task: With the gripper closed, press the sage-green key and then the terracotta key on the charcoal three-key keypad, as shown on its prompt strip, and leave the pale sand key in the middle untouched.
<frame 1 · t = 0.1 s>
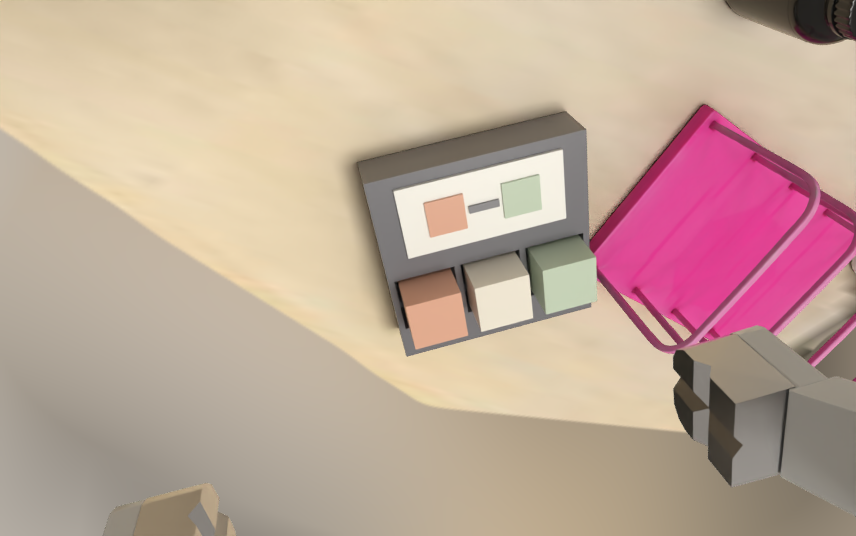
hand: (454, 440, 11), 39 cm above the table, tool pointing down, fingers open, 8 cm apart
file sorter: (718, 240, 62), on the table
keypad base: (476, 228, 55), on the table
key terracotta: (432, 306, 52), point 5 cm above the table, slide at 0.0 cm
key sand: (497, 289, 52), point 5 cm above the table, slide at 0.0 cm
key sage: (561, 272, 53), point 5 cm above the table, slide at 0.0 cm
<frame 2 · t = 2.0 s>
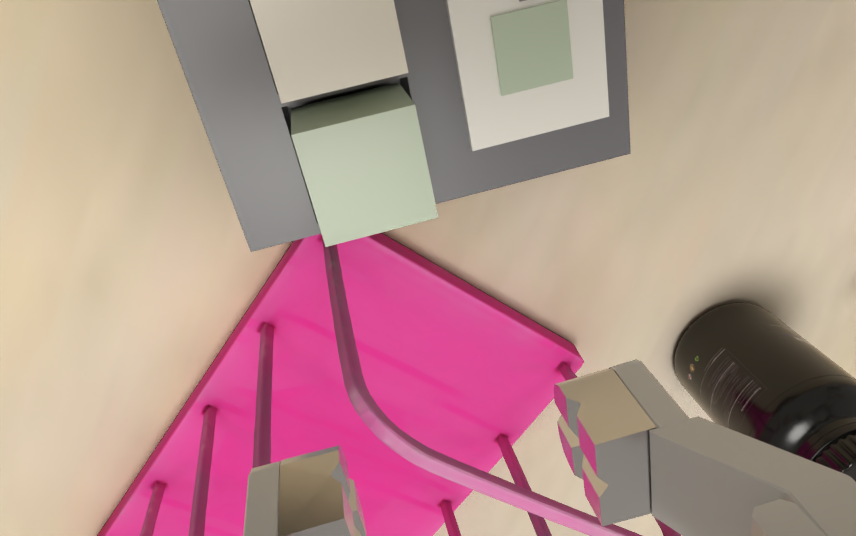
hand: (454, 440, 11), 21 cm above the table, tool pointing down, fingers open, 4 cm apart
file sorter: (335, 437, 38), on the table
supplement bottle: (718, 343, 40), on the table
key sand: (325, 13, 22), point 5 cm above the table, slide at 0.0 cm
key sage: (363, 161, 25), point 5 cm above the table, slide at 0.0 cm
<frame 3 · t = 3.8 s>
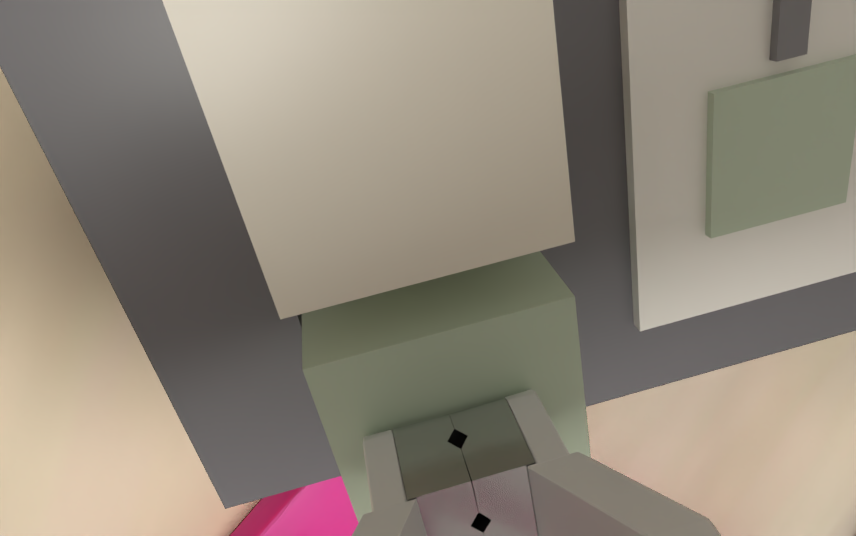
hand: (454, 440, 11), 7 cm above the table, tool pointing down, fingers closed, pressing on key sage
keypad base: (480, 17, 15), on the table
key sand: (379, 99, 10), point 5 cm above the table, slide at 0.0 cm
key sage: (441, 367, 13), point 5 cm above the table, slide at 0.3 cm, touching gripper
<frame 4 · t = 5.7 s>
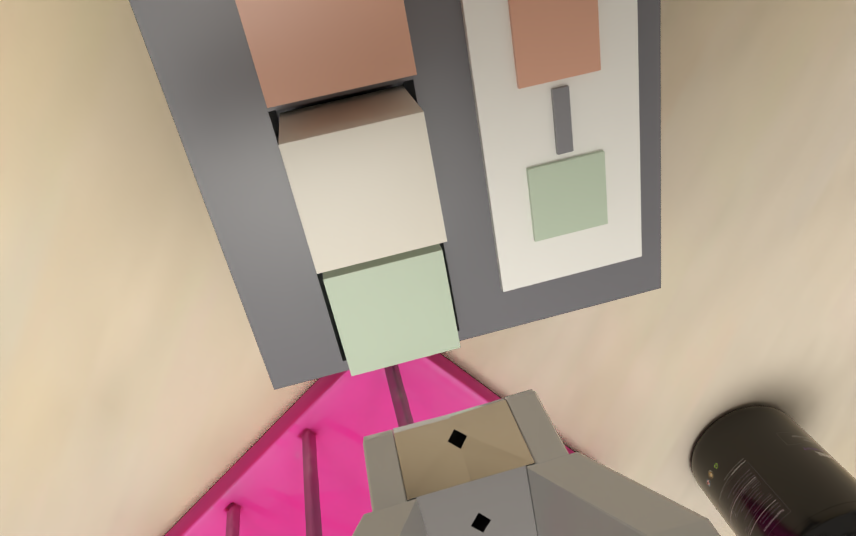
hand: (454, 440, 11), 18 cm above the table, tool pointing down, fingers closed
file sorter: (347, 535, 37), on the table
keypad base: (419, 118, 27), on the table
key terracotta: (320, 4, 19), point 5 cm above the table, slide at 0.0 cm
supplement bottle: (735, 442, 40), on the table
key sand: (361, 175, 22), point 5 cm above the table, slide at 0.0 cm
key sage: (388, 290, 26), point 4 cm above the table, slide at 1.6 cm
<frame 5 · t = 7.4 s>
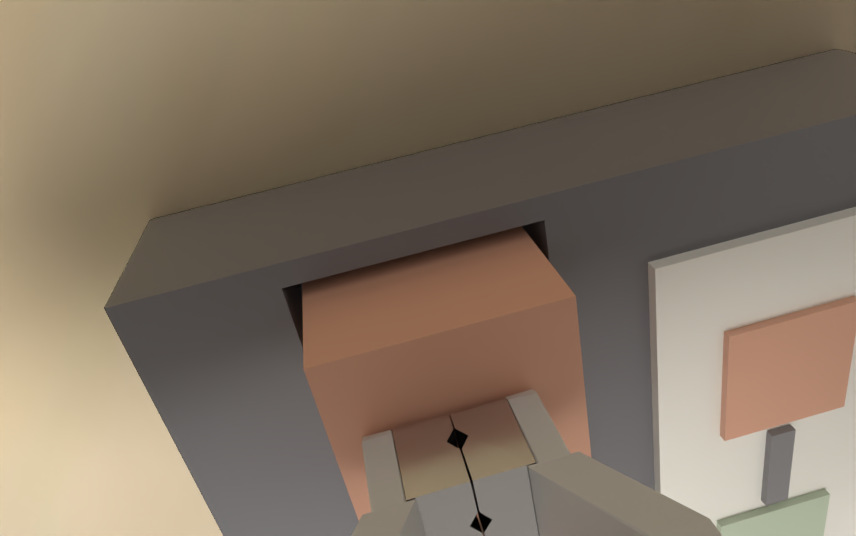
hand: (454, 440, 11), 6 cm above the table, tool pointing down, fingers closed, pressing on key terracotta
keypad base: (543, 401, 19), on the table
key terracotta: (441, 367, 13), point 4 cm above the table, slide at 1.0 cm, touching gripper
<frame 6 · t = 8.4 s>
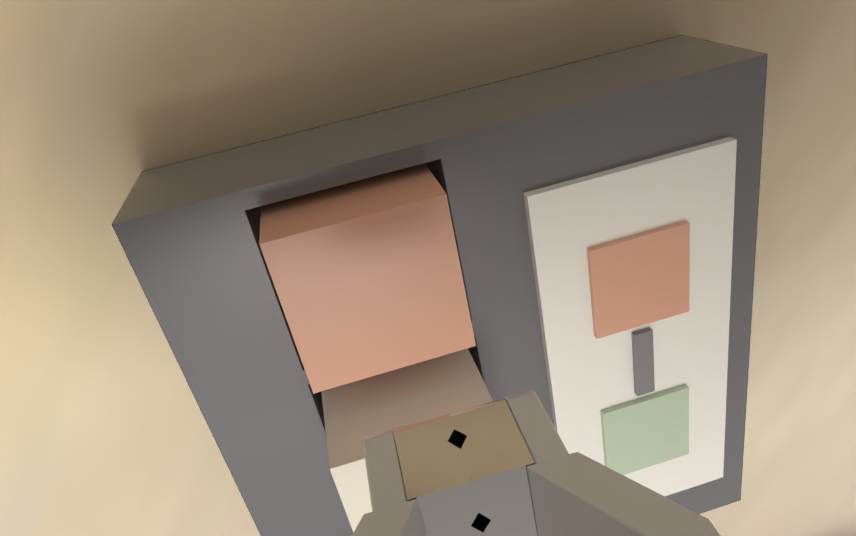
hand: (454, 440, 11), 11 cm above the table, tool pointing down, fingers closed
keypad base: (468, 328, 23), on the table
key terracotta: (365, 263, 17), point 4 cm above the table, slide at 1.6 cm
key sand: (418, 451, 19), point 5 cm above the table, slide at 0.0 cm
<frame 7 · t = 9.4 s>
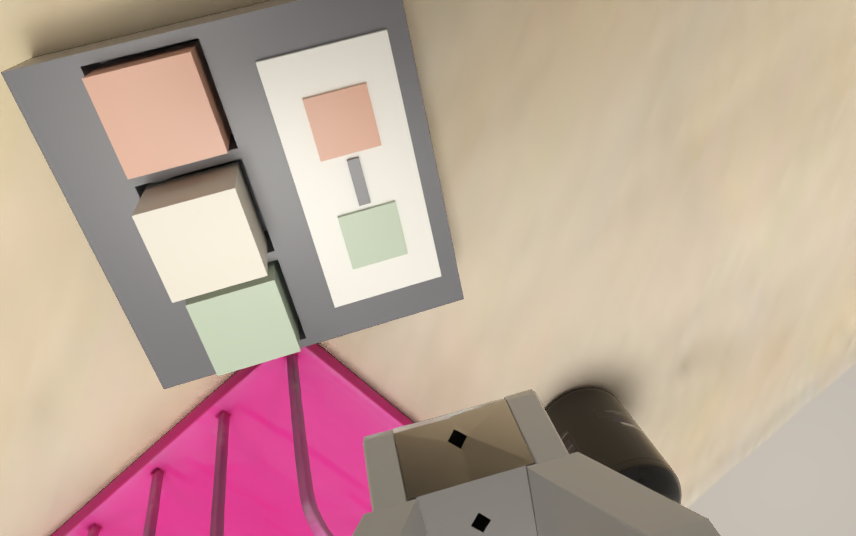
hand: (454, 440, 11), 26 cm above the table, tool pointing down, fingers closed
file sorter: (252, 505, 45), on the table
keypad base: (268, 178, 35), on the table
key terracotta: (164, 107, 29), point 4 cm above the table, slide at 1.6 cm
supplement bottle: (575, 419, 48), on the table
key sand: (206, 229, 30), point 5 cm above the table, slide at 0.0 cm
key sage: (246, 309, 34), point 4 cm above the table, slide at 1.6 cm
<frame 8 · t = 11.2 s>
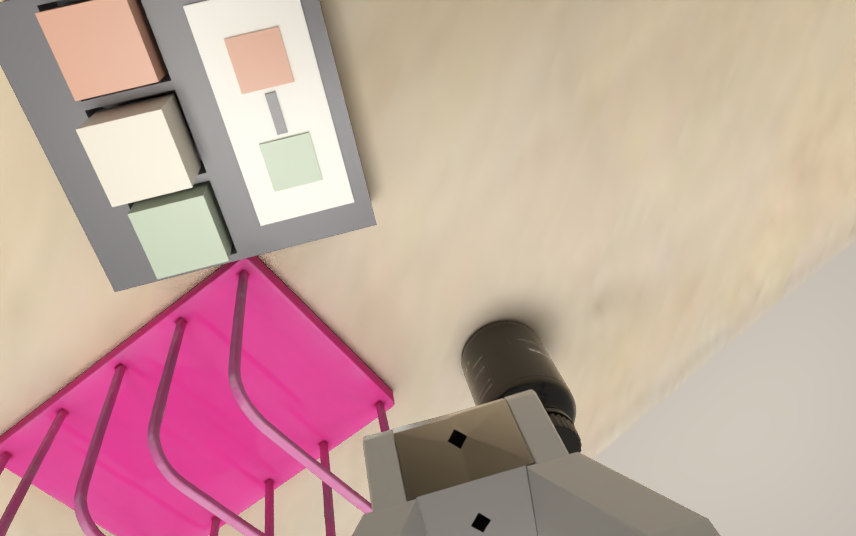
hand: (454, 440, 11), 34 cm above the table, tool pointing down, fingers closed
file sorter: (203, 412, 51), on the table
keypad base: (208, 113, 40), on the table
key terracotta: (108, 43, 35), point 4 cm above the table, slide at 1.6 cm
supplement bottle: (498, 351, 53), on the table
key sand: (143, 148, 36), point 5 cm above the table, slide at 0.0 cm
key sage: (184, 225, 40), point 4 cm above the table, slide at 1.6 cm
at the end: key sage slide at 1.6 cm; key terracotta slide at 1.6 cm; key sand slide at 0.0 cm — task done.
